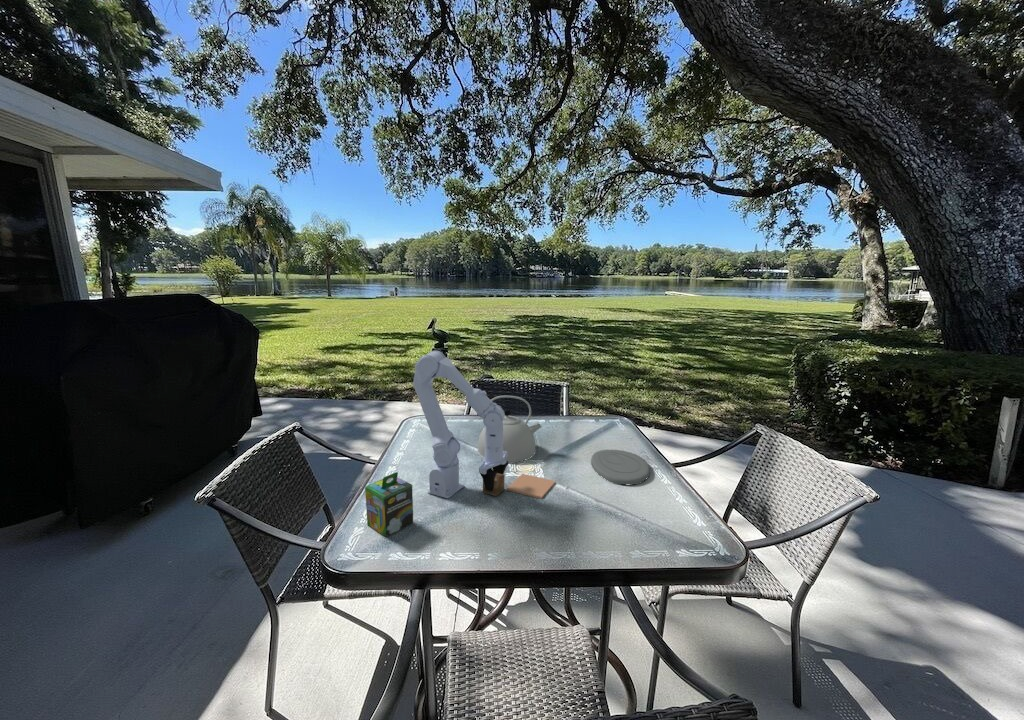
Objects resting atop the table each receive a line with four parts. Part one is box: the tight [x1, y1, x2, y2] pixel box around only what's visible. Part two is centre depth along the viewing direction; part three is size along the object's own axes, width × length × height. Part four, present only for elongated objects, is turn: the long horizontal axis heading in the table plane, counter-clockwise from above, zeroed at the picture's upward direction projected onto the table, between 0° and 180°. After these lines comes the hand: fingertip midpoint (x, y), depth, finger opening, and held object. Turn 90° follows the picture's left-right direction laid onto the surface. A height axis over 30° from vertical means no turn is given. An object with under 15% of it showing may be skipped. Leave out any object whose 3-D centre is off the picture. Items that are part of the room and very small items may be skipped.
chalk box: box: [364, 471, 414, 538], centre depth 113 cm, size 9×9×15 cm
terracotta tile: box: [506, 473, 556, 500], centre depth 137 cm, size 12×12×1 cm
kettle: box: [477, 395, 543, 464], centre depth 165 cm, size 25×23×22 cm
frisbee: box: [590, 449, 651, 485], centre depth 152 cm, size 20×27×3 cm
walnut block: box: [482, 473, 505, 497], centre depth 133 cm, size 5×5×5 cm
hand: (493, 486), depth 133 cm, fingers closed on walnut block, 5 cm apart
